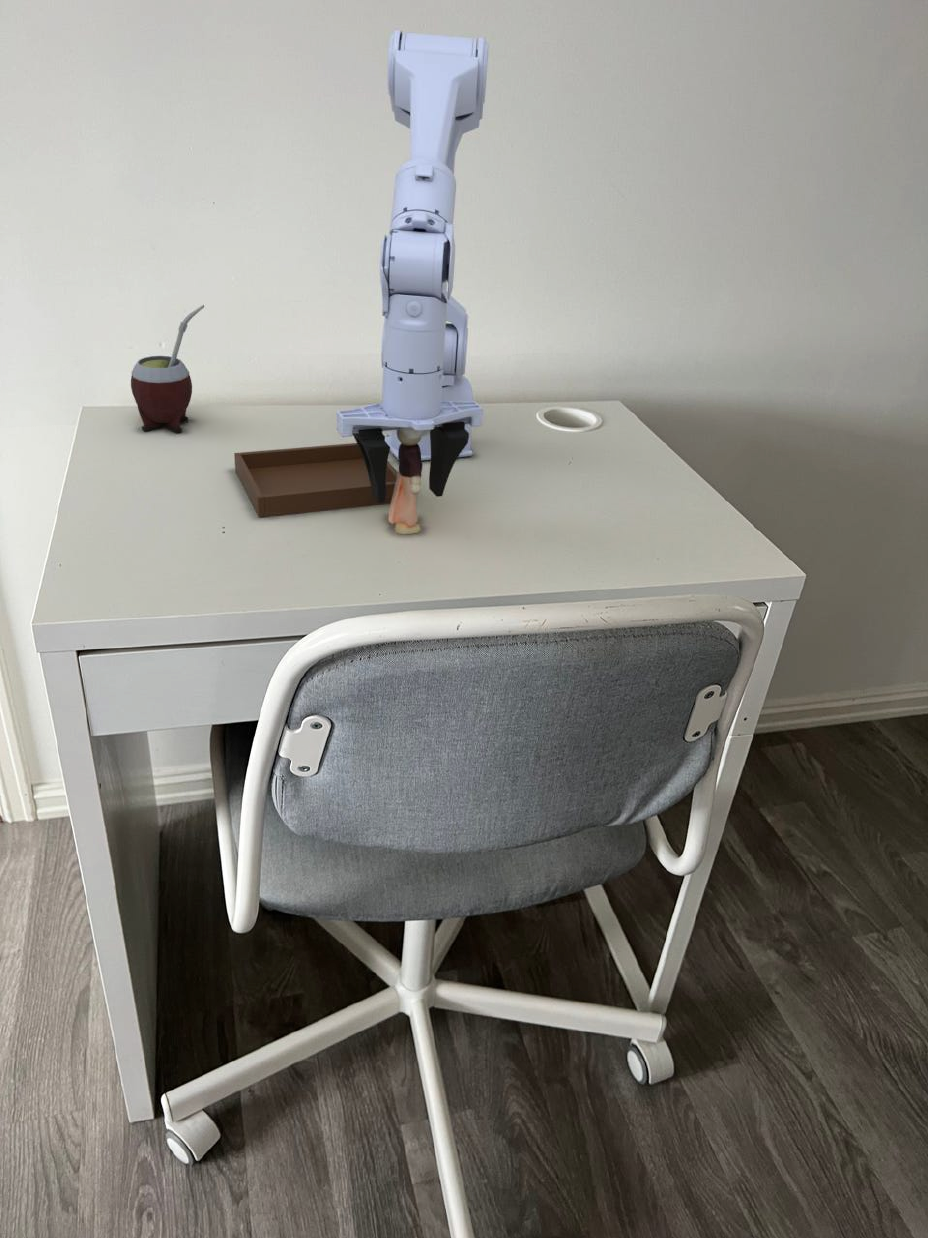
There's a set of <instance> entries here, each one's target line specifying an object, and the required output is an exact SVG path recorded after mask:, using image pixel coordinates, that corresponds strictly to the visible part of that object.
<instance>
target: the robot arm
mask: <svg viewBox="0 0 928 1238" xmlns="http://www.w3.org/2000/svg"><path fill="white" fill-rule="evenodd" d="M389 37H390V38H389V44H388V55H387V91H388V93H387V94H388V95H389V99H390V105H391V107H390V108H391V111H392V113H393V114H394V121H395V122H397V123H399V124H400V125H402V126H404V127H406V128H408V129H409V132H410V133H409V160H408V161H406V162H405V163H403V164H402V165H401V166H400V167H399V169H398V170H397V172H396V174H395V179H394V187H393V197H392V205H391V213H390V223H389V233H388V236H387V235H386V234H384V235H383V237H382V241H381V245H380V255H379V256H380V257H379V284H380V289H381V290H380V291H381V300H382V301H381V303H382V304H381V311H382V312H381V315H382V317H384V323H383V328H382V335H381V352H380V353H381V354H380V356H381V361H380V362H381V368H382V395H381V402H379V403H374V404H370V405H366V406H365V405H364V406H362V407H357V408H352V409H346V410H345V409H344V410H337V411H336V431H337V433H338V434H340V436H341V437H342V438H350V437H353V438H354V441H355V443H357V444H358V447H359V449H360V451H361V454H362V456H363V459H364V462H365V464H366V468H367V471H368V475H369V479H370V484H371V490H372V496H373V497H374V499H375V500H376V501H377V502H378V503H384V502H385V497H386V467H387V461H389V460H388V459H389V455H390V453H392V454H393V456H394V457H395V458H396V459H397V461H399V458H398V451H399V446H400V444H401V442H400V441H399V440H398V437H397V430H400V427H401V428H413V429H414V430H417V431H422V430H430V433H429V434H428V435H427V436H422V438H421V440H420V441H419V442H418V443H417V444H418V445H419V447H420V451H421V461H430V464H429V476H428V482H429V483H428V484H429V485H428V487H429V490H430V491H431V493H432V494H433V495H434V496H435V498H439V497H443V495H444V492H445V488H446V485H447V482H448V479H449V476H450V475H451V472H452V469H453V468H454V465H455V463H456V461H457V460H458V458H463V457H472V456H473V451H472V450H471V444H472V431H473V427H481V426H482V423H483V415H484V414H483V413H484V407H483V406H481V405H480V404H479V403H478V402H477V401H475V400H474V392H473V388H472V385H471V382H470V381H469V379H468V378H467V377H466V376H464V375H465V374H466V364H467V351H468V337H469V328H468V321H469V315H468V313H467V310H466V308H465V307H464V306H463V305H462V304H461V303H460V302H459V301H457V299H455V298H454V297H453V296H452V293H453V288H454V278H455V261H456V242H455V241H456V240H455V232H454V229H455V228H454V226H455V224H454V219H455V218H454V217H455V205H456V193H457V180H456V177H455V166H456V165H455V163H456V154H457V150H458V148H459V145H460V143H461V141H462V140H461V139H462V138H463V135H464V134H466V133H469V132H471V131H473V130H476V129H478V128H480V120H482V119H483V117H484V116H483V115H484V104H485V103H486V91H487V89H486V88H487V76H488V63H489V49H490V48H489V47H490V44H489V43H488V41H487V40H486V37H484V36H478V38H476V37H467V36H466V37H465V36H455V35H454V36H453V35H441V34H432V33H431V34H430V33H420V32H418V33H417V32H407V31H406V32H405V31H402V30H401V29H396V30H395V31H394V32H393V33H392V34H391V36H389ZM383 432H390V433H389V434H383Z"/></svg>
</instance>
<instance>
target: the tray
mask: <svg viewBox="0 0 928 1238" xmlns="http://www.w3.org/2000/svg"><path fill="white" fill-rule="evenodd" d="M233 454H234V455H233V457H234V472H235V474H236V476H237V478H238V479H239V482H240V484H241V485H242V487H243V489H244V491H245V493H246V495H247V497H248V499H249V501H250V504H251V505H252V508H253V509H254V511H255V513H256V515H257V516H258V518H267V517H268V518H269V517H277V516H286V515H287V516H288V515H295V514H304V513H311V512H312V513H313V512H322V511H333V510H341V509H350V508H361V507H370V506H378V505H388V504H391V500H392V496H393V492H394V487H395V483H396V479H397V474H398V471H397V469H396V468H395V467H394V466H393V465H392V464H391V462H390V461H389V460H388V461H387V467H386V497H385V502H384V503H378V502H377V501H376V500H375V499H374V497H373V496H372V490H371V484H370V479H369V475H368V471H367V468H366V464H365V462H364V459H363V456H362V454H361V451H360V449H359V447H358V444H357V442H351V443H340V444H327V445H315V446H304V447H303V446H302V447H291V448H290V447H289V448H278V449H266V450H255V451H244V452H242V451H241V452H234V453H233Z"/></svg>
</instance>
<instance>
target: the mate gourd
mask: <svg viewBox="0 0 928 1238" xmlns="http://www.w3.org/2000/svg"><path fill="white" fill-rule="evenodd" d="M204 308H205V305H204V304H203V305H200V306H199V307H197V308H196V309H195V310H193V311H191V312H190V313H188V315H187V316H186V317H184V318H183V320H182V321H180V323H179V326H178V333H177V336H176V340H175V343H174V347H173V350H172V354H171V356H169V355H151V356H146V357H145V356H144V357H143V358H140V359H138V360H137V362H136V363H135V365H134V366H133V368H132V370H131V376H130V377H131V378H130V389H131V394H132V395H133V399H134V401H135V404H136V406H137V411H138V413H139V416H140V418H141V420H142V423H143V426H141V430H142V432H144V433H146V432H152V431H154V430H159V429H167V430H169V431H171V432H173V433H175V434H181V433H183V428H182V427H181V426H180V424H183V423H187V422H189V416H187V409H188V407H189V405H190V402H191V399H192V394H193V383H192V377H191V374H190V371H189V370H188V367H187V366H186V365H185V363H184V362H183V361H182V360H181V359H180V358H178V354H179V350H180V346H181V344H182V340H183V336H184V333H186V330H187V328H188V324H189V322H190V321H191V320H192V319H193V318H194V317H195V316H196V315H197V314H198V313H199V312H201V311H202V310H203V309H204Z"/></svg>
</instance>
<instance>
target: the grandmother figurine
mask: <svg viewBox="0 0 928 1238" xmlns="http://www.w3.org/2000/svg"><path fill="white" fill-rule="evenodd" d="M429 433H430V430H422V431H417V430H414V429H413V428H401V427H400V430H397V437H398V440H399V441H400V442H401V444H400V446H399V451H398V458H399V460H398V471H397V472H398V474H397V479H396V483H395V487H394V492H393V496H392V500H391V503H390V506H389V511H388V519H387V520H388V522H389V523H390V524H395V526H394V528H393V529H394V532H395V533H397V534H398V535H411V534H418V533H421V532H422V529H421V528H422V527H421V526H420V525H419V523H418V518H419V517H418V516H419V515H418V506H417V499H418V495H419V494H420V493H421V489H422V488H421V483H422V471H423V462H422V461H423V460H421V451H420V447H419V445H418V444H417V443H418V442H419V441H420V440H421V438H422V436H427V435H428V434H429Z"/></svg>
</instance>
